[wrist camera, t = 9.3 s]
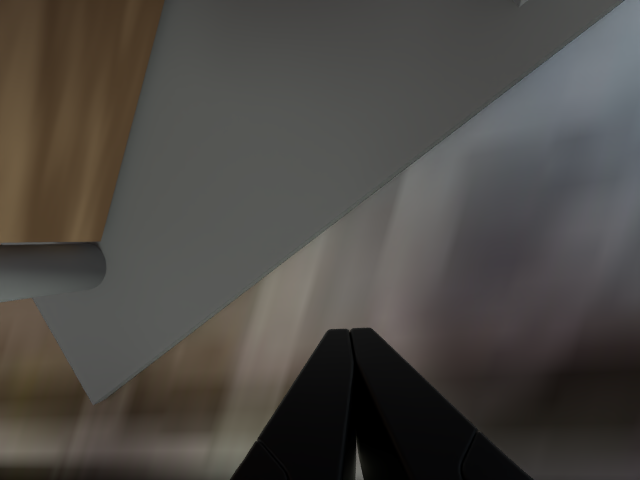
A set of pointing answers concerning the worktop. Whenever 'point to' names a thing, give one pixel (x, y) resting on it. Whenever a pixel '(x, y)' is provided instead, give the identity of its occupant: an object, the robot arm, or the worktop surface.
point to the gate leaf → (67, 111)
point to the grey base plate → (267, 152)
